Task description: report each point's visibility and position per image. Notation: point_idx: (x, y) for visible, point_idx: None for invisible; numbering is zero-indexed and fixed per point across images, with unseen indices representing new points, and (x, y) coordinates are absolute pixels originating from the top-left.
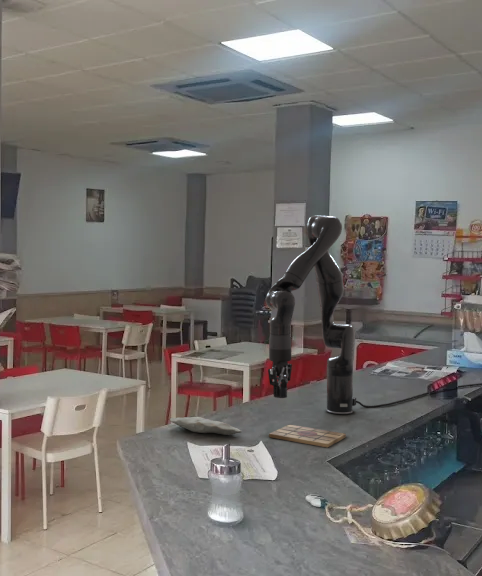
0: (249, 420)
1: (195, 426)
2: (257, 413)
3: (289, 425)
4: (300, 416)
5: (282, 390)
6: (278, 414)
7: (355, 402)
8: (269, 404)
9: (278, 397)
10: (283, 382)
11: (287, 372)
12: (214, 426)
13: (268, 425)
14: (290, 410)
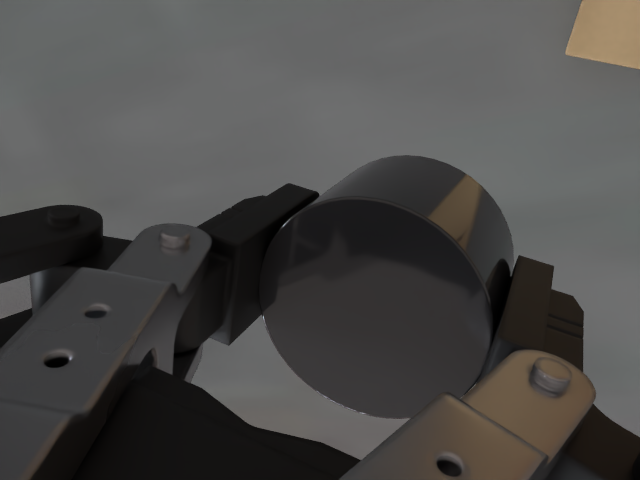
0: None
1: None
2: (219, 354)
3: (617, 37)
4: (147, 59)
5: (482, 255)
6: (175, 222)
7: None
8: (8, 303)
9: (511, 269)
10: (213, 303)
11: (48, 340)
12: None
13: (534, 247)
14: (49, 164)
